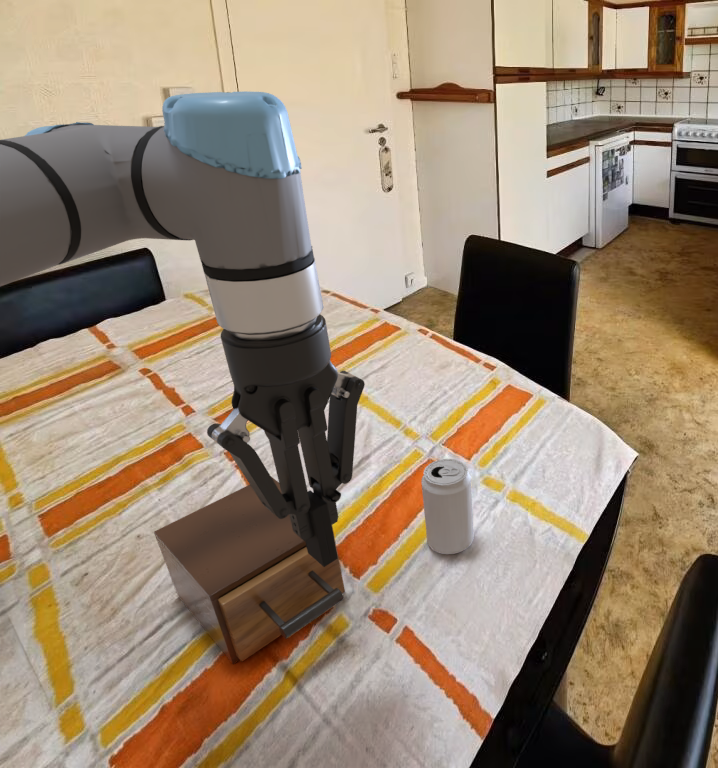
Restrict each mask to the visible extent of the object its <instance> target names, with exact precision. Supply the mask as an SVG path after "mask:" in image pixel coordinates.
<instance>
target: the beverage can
mask: <svg viewBox="0 0 718 768" xmlns="http://www.w3.org/2000/svg"><path fill="white" fill-rule="evenodd" d="M420 483H421V491H422V492H421V493H422V502H423V513H424V523H425V532H426V541H427V544H428V546H429V547H430V548H431V549H432V551H434V552H435V553H439V554H442V555H454V554H458V553H461V552H464V551H465V550H467V549H468V548H469V547H470V546H471V544H472V543H473V541H474V538H475V537H474V536H475V532H474V531H475V530H474V513H473V512H474V511H473V493H472V492H473V491H472V476H471V473H470V472H469V471H468V467H467V465H466V464H465V463H464V462H462V461H461V460H458V459H455V458H440V459H436V460H434V461H432V462H430V463H429V464H428V465H426V467H425V468H424V470H423V476H422V477H421V481H420Z"/></svg>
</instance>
